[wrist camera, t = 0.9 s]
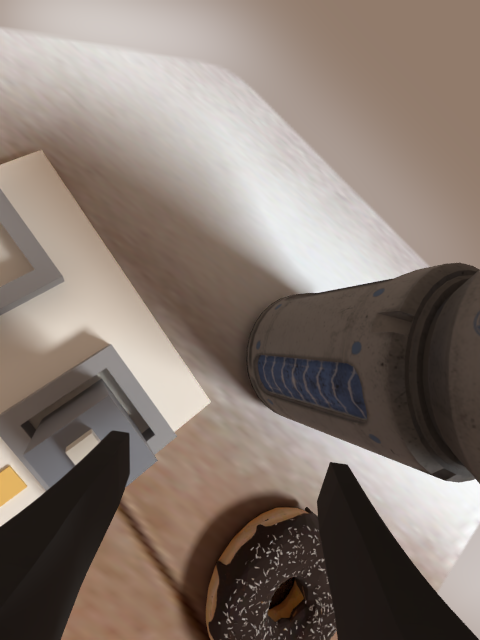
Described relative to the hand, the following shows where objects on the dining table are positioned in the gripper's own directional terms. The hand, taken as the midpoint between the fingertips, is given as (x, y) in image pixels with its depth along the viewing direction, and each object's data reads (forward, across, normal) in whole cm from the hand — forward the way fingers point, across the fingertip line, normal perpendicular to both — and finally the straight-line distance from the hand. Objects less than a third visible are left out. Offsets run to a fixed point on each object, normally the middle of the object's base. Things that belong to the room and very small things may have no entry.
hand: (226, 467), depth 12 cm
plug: (+8, +9, +6) cm, 13 cm away
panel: (+9, +13, +2) cm, 16 cm away
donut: (+8, -5, +20) cm, 22 cm away
